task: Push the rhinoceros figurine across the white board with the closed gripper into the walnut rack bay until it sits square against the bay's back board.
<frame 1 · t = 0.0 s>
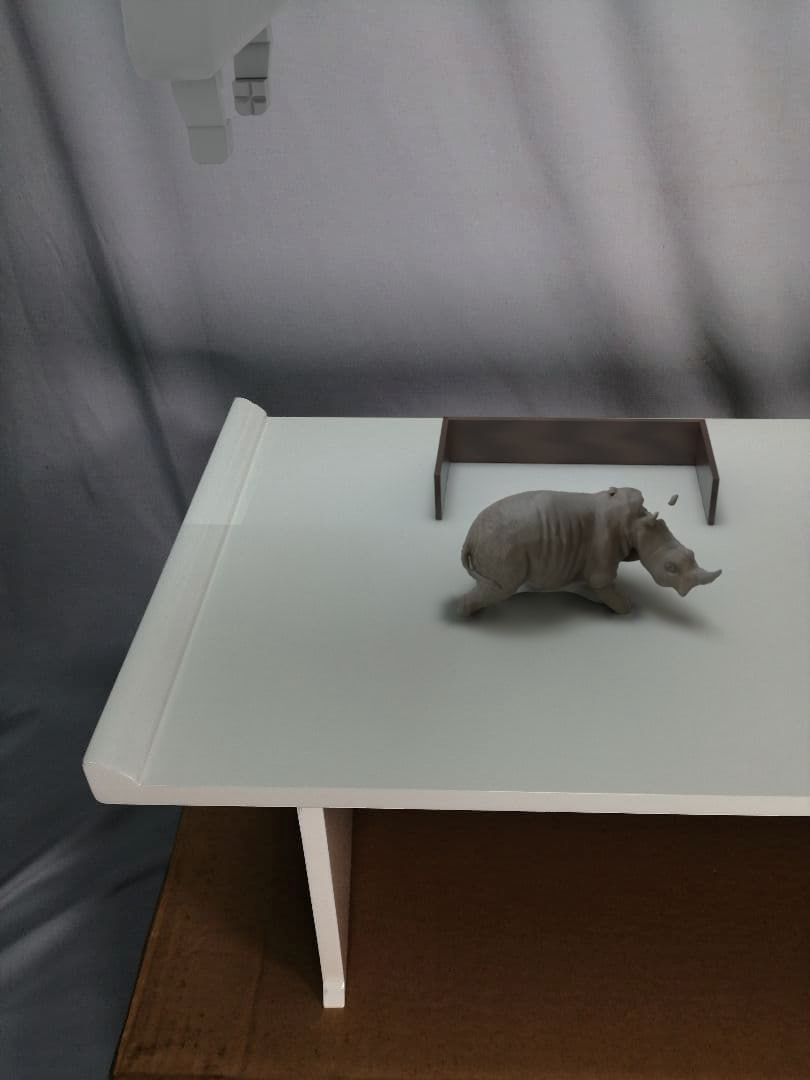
hand: (235, 135, 61), 33 cm above the table, tool pointing down, fingers open, 8 cm apart
rhinoceros figurine: (576, 615, 80), on the table
rack bay: (571, 491, 93), on the table
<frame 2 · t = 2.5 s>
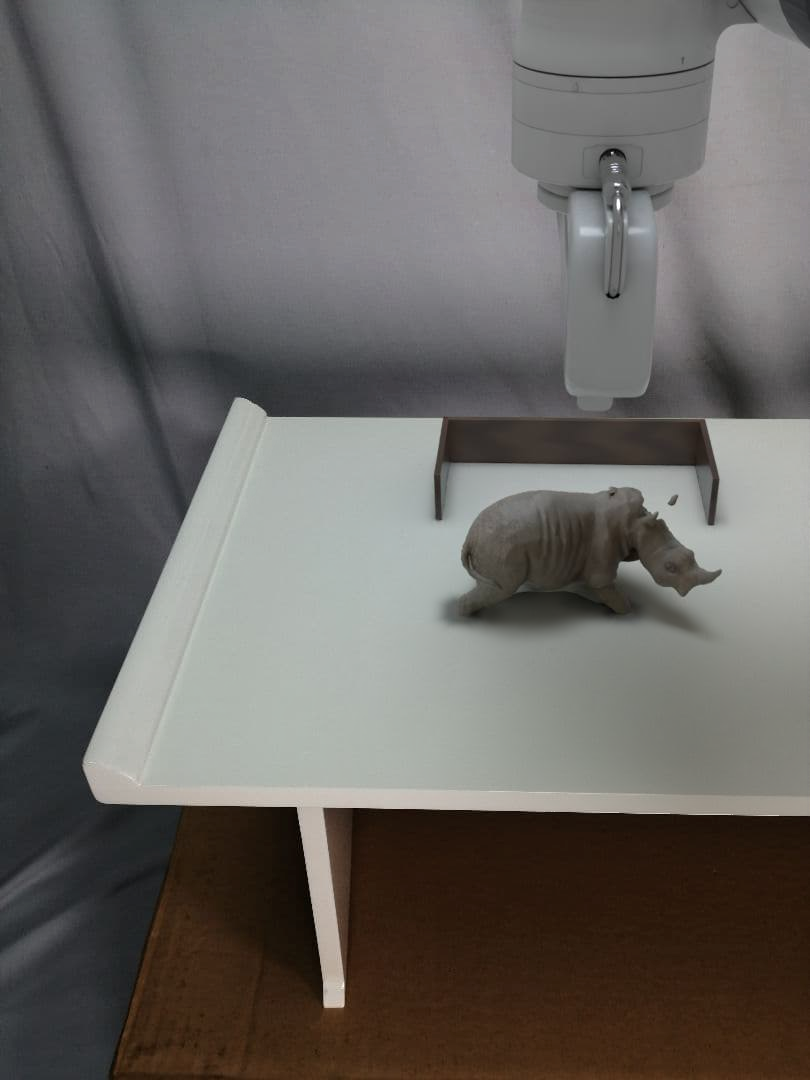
hand: (593, 399, 61), 21 cm above the table, tool pointing down, fingers closed
nothing on the table moved.
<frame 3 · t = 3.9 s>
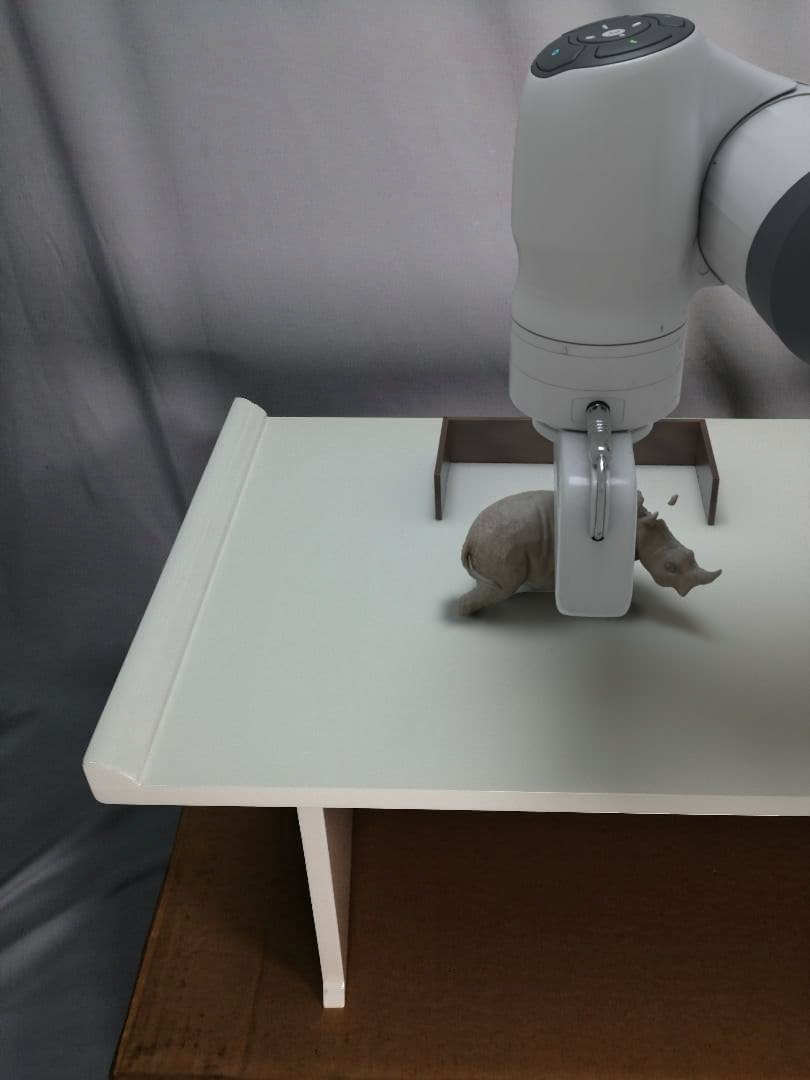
hand: (582, 584, 68), 9 cm above the table, tool pointing down, fingers closed
nothing on the table moved.
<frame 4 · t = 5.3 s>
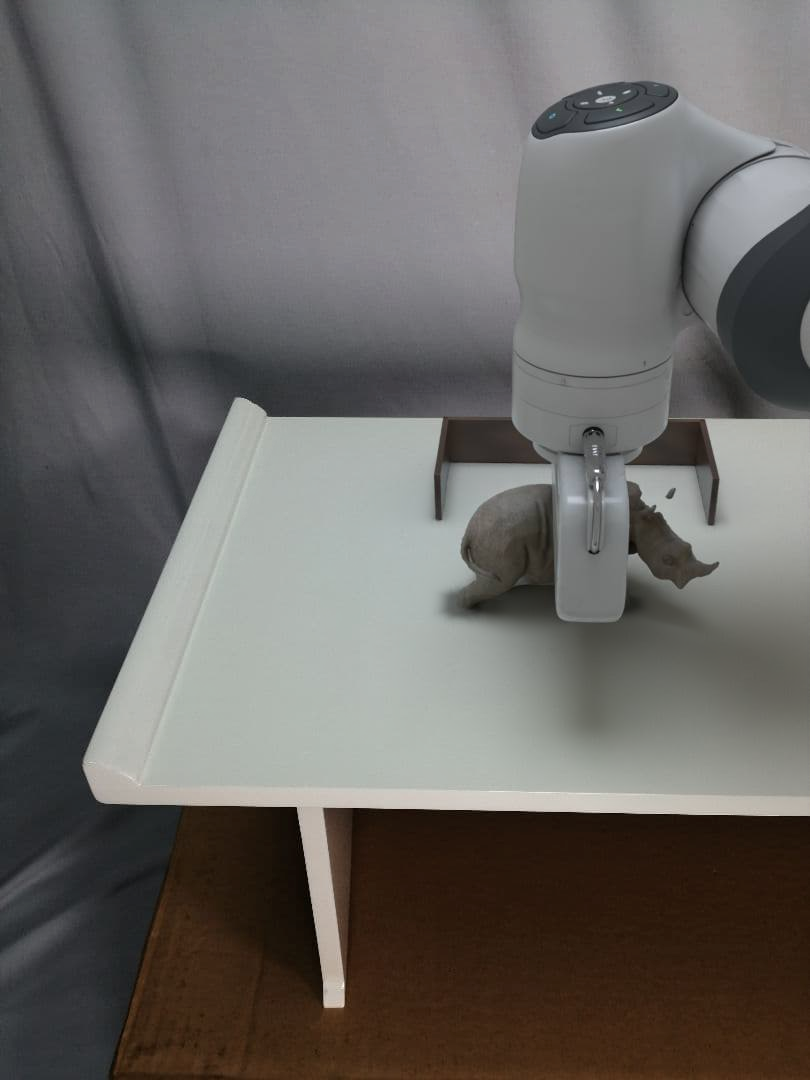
hand: (579, 591, 74), 5 cm above the table, tool pointing down, fingers closed
rhinoceros figurine: (574, 607, 80), on the table, touching gripper
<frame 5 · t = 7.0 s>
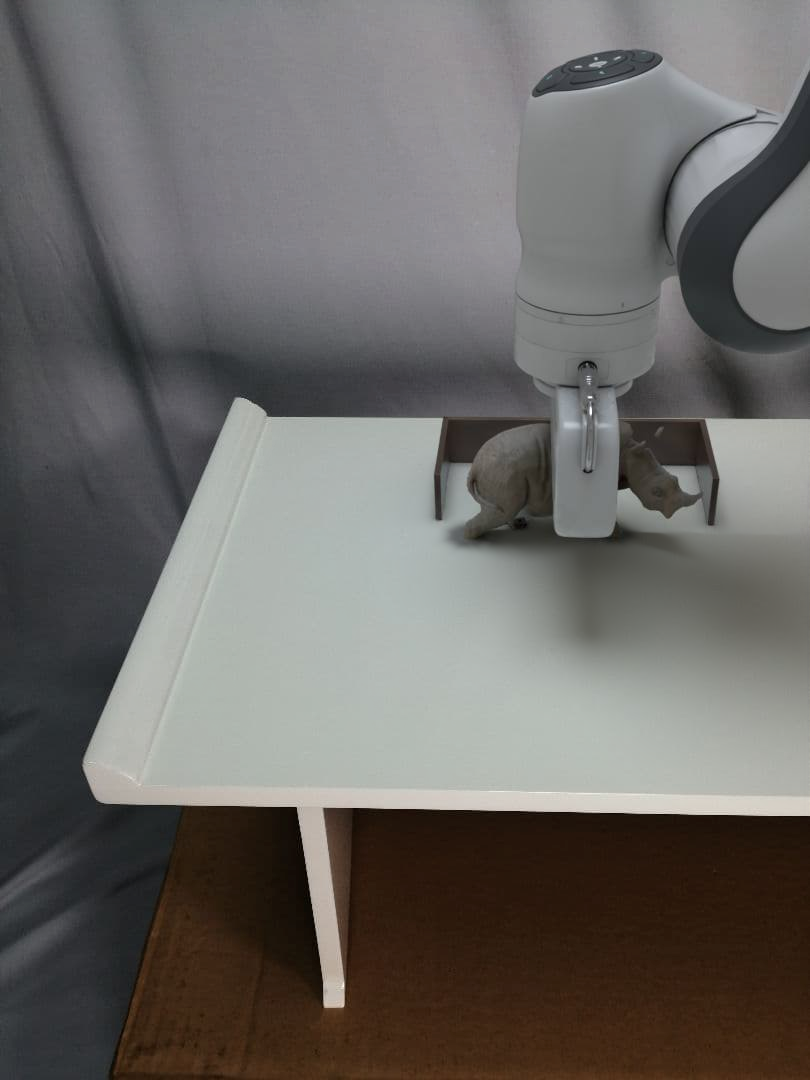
hand: (575, 520, 81), 5 cm above the table, tool pointing down, fingers closed
rhinoceros figurine: (571, 540, 87), on the table, touching gripper
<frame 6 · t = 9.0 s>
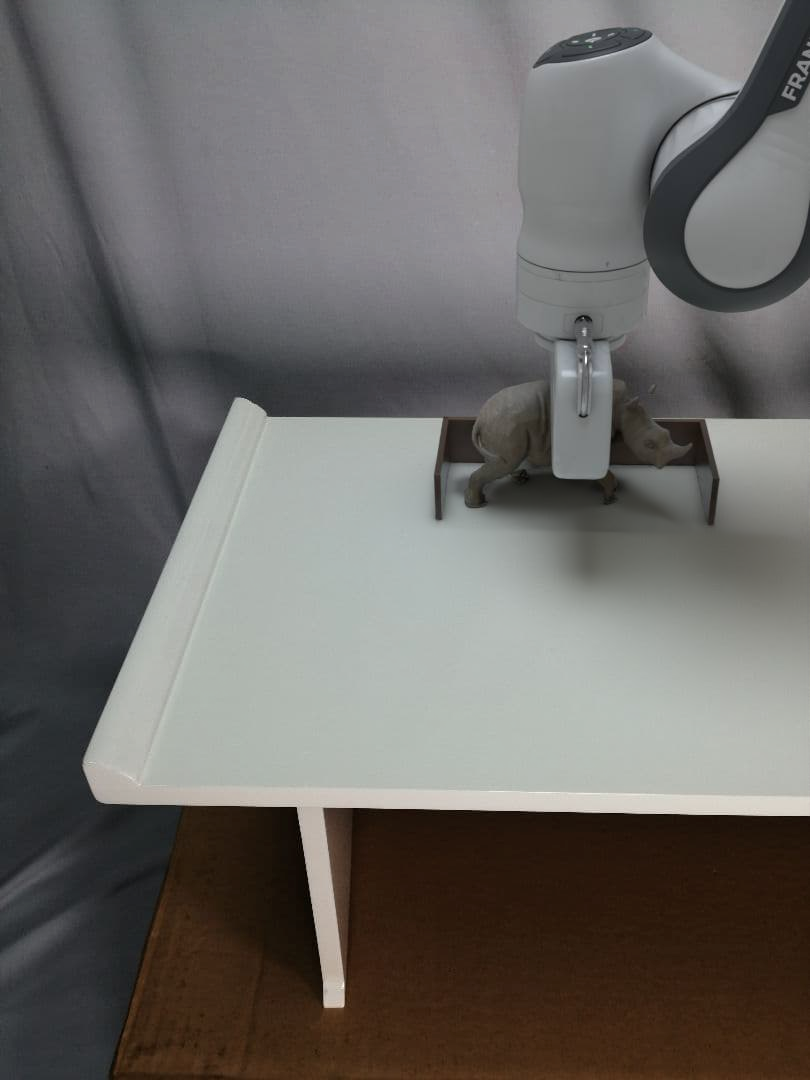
hand: (573, 470, 86), 5 cm above the table, tool pointing down, fingers closed
rhinoceros figurine: (569, 492, 93), on the table, touching gripper
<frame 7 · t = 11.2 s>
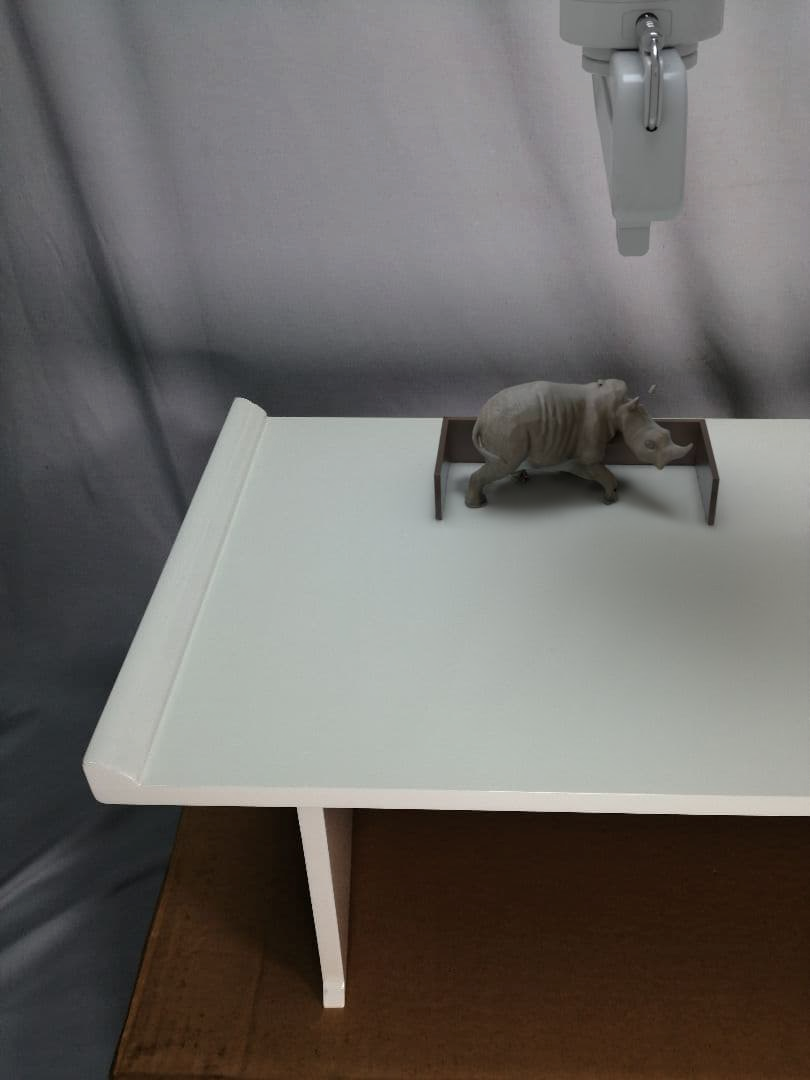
hand: (631, 248, 71), 23 cm above the table, tool pointing down, fingers closed
rhinoceros figurine: (570, 492, 93), on the table
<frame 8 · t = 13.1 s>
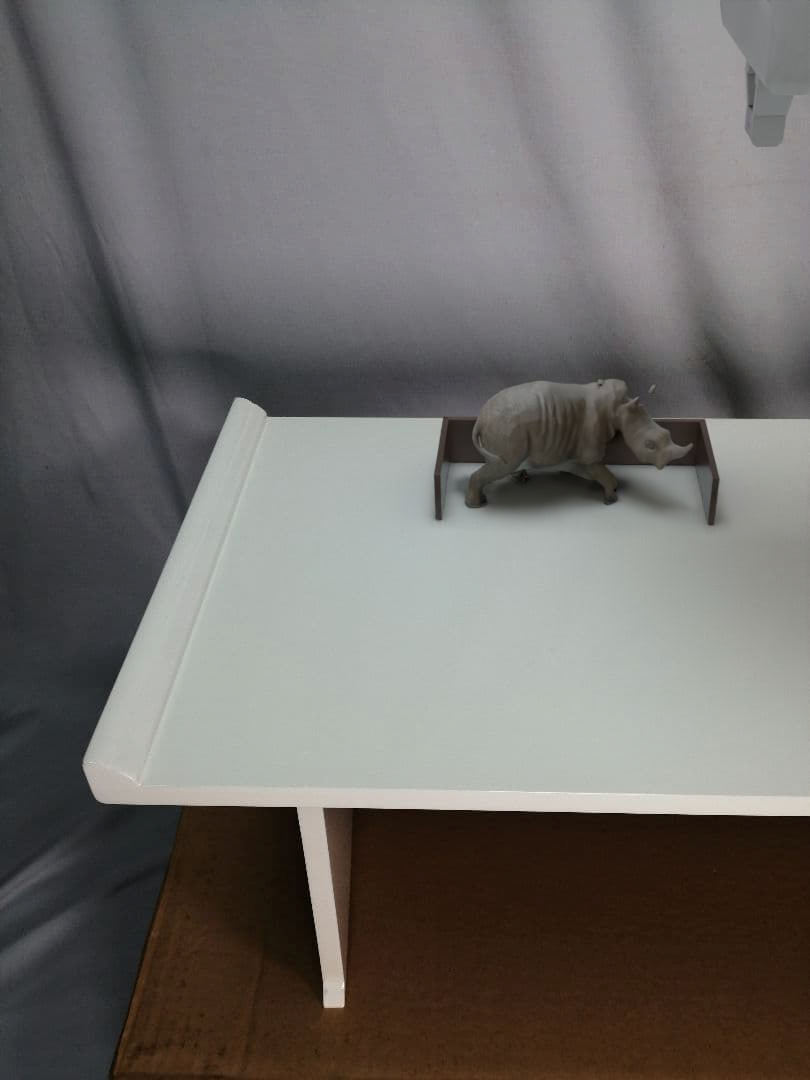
hand: (762, 140, 69), 29 cm above the table, tool pointing down, fingers closed
nothing on the table moved.
at the end: rhinoceros figurine 0.1 cm off-centre on the rack bay, point 0.0 cm above the rack bay's base; rhinoceros figurine tilted 0° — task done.
